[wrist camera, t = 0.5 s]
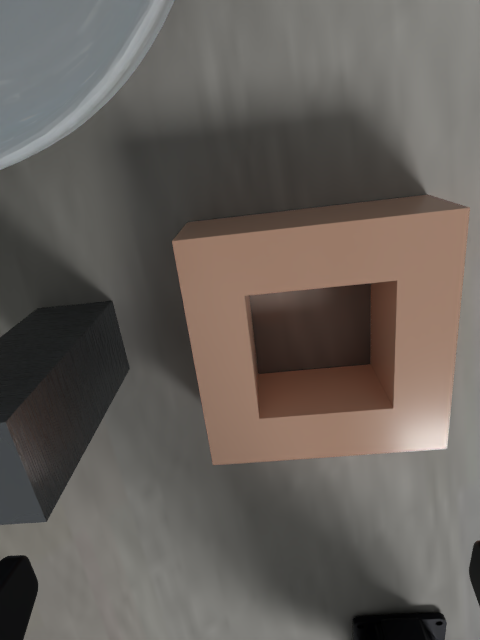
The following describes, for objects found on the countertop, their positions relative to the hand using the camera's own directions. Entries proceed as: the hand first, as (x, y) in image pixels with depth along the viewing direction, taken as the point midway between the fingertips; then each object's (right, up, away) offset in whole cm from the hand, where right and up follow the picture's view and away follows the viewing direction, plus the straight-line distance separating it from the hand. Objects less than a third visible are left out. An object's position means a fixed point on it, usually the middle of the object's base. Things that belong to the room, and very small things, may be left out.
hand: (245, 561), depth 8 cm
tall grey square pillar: (-8, +4, +14) cm, 17 cm away
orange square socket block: (+4, +5, +13) cm, 14 cm away
